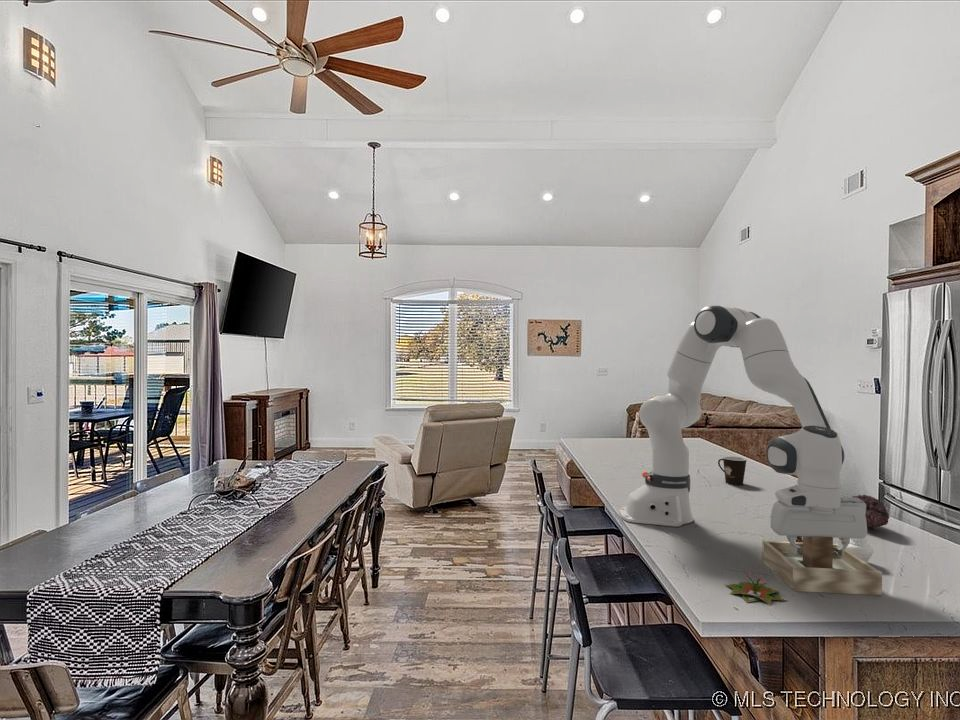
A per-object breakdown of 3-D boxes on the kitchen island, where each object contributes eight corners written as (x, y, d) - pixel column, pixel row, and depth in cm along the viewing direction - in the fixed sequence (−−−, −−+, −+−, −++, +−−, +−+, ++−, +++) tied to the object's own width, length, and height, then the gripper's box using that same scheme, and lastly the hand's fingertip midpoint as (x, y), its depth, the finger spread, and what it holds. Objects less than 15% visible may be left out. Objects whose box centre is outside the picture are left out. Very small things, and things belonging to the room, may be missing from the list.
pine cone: (902, 539, 157) (902, 504, 157) (863, 537, 159) (864, 502, 159) (869, 520, 175) (870, 489, 174) (835, 518, 176) (835, 487, 176)
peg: (811, 580, 128) (812, 537, 128) (802, 572, 133) (803, 530, 133) (832, 581, 128) (833, 538, 128) (822, 573, 132) (823, 531, 132)
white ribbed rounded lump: (845, 555, 144) (845, 528, 144) (874, 561, 140) (874, 534, 140) (842, 562, 139) (842, 534, 139) (872, 568, 135) (872, 540, 135)
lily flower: (798, 607, 116) (799, 585, 116) (744, 609, 115) (744, 587, 115) (764, 583, 128) (764, 563, 128) (714, 584, 127) (714, 564, 126)
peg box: (794, 590, 122) (795, 568, 122) (761, 560, 140) (762, 540, 140) (881, 595, 121) (882, 572, 120) (837, 563, 138) (837, 543, 138)
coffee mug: (750, 486, 219) (750, 460, 218) (728, 485, 219) (728, 460, 219) (736, 479, 230) (737, 455, 230) (715, 478, 230) (716, 455, 230)
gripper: (858, 494, 132) (856, 552, 132) (768, 491, 134) (767, 548, 135) (874, 501, 126) (872, 562, 126) (779, 498, 128) (778, 557, 128)
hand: (817, 554), depth 130 cm, fingers open, 8 cm apart
